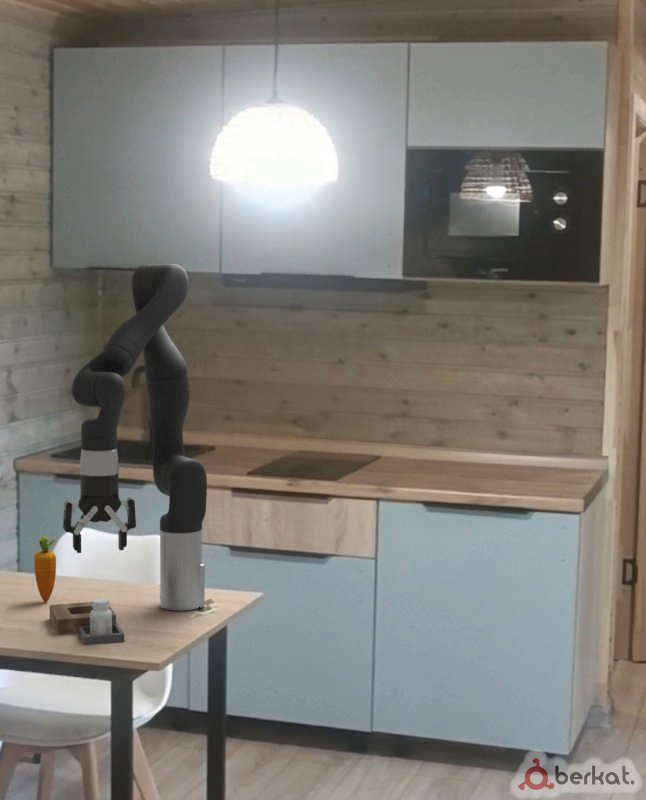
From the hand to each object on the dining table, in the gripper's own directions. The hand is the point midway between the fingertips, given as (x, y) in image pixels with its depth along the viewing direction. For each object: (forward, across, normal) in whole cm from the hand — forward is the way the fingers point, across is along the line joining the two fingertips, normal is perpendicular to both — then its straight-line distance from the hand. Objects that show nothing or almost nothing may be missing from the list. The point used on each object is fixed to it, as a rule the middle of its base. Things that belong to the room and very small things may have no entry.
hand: (99, 551), depth 267 cm
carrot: (+18, +7, -31) cm, 36 cm away
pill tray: (+18, 0, 0) cm, 18 cm away
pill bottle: (+18, 0, 0) cm, 18 cm away
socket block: (+18, +2, -11) cm, 21 cm away
